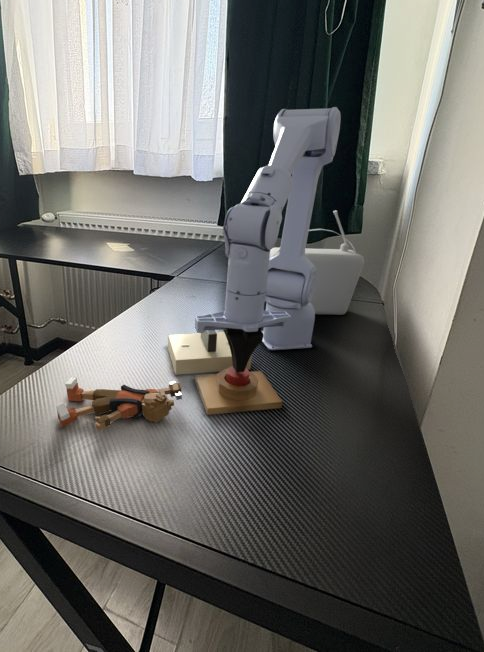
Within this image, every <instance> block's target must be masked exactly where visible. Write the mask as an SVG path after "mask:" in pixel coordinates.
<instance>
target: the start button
mask: <svg viewBox="0 0 484 652" xmlns="http://www.w3.org/2000/svg"><path fill="white" fill-rule="evenodd" d="M249 372H250V371H249V369H246V368H245V371H244V372H236V371H235V369H234V367H233V366H231V367H229V368H228V369H227V376H226V381H227V383H229V384H231V385H234V386H246V385H247V384H248V382H249Z"/></svg>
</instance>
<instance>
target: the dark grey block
mask: <svg viewBox="0 0 484 652" xmlns="http://www.w3.org/2000/svg"><path fill="white" fill-rule="evenodd" d="M216 332H217V330H206V331H204V333H201V339H202V341H203V343H204V345H205V347H206V349H207V351H208V352H215V351H216V344H217V333H216Z"/></svg>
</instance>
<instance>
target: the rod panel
mask: <svg viewBox="0 0 484 652" xmlns="http://www.w3.org/2000/svg"><path fill="white" fill-rule="evenodd" d="M216 333H217V344H216V351H215V352H208V351H207V349H206V347H205V345H204V343H203V341H202V339H201V333H197V332H194V333H193V332H192V333H177V334H175V333H174V334H167V349H168V353H169V357H170V360H171V363H172V367H173V371H174V374H175V376H177V375H191V374H203V373H205V374H206V373H219V372H220V371H223V370H225V369H228V368H229V367H231V366H233V362H232V355H231V350H230V347H229V343H228V340H227V338H226V335H225V333H224V331H216ZM252 358H253V354H252V355H251V357H250V359H249V361H248V363H247V366H246V369H248V370H251V367H252Z"/></svg>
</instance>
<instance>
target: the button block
mask: <svg viewBox="0 0 484 652" xmlns="http://www.w3.org/2000/svg"><path fill="white" fill-rule="evenodd" d="M226 376H227V369H225V370H223V371H220V372H218V373H216V374H215V373H213V374H202V375H195V376H194V383H195V386H196V388H197V392H198V393H199V397H200V399H201V402H202V404H203V407H204V410H205V413H206V415H208V416H210V415H220V414H229V413H230V414H232V413H243V412H253V411H263V410H274V409H282V408H283V407H282V406H283V400H282V399H281V398H280V396H279V395H278V393H277V392H276V390H275V389H274V387H273V386H272V384H271V383H270V381H269V380H268V378H267V377H266V375H265V374H264V373H263V371H262V370H256V371H249V382H248V384H247V385H246V386H234V385H231V384H229V383H227V381H226Z"/></svg>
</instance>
